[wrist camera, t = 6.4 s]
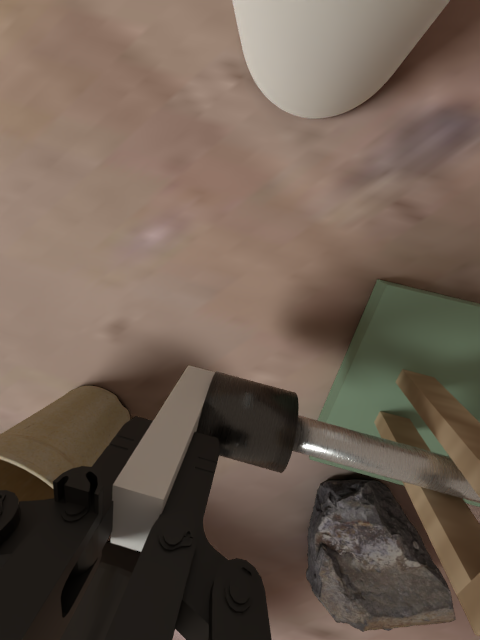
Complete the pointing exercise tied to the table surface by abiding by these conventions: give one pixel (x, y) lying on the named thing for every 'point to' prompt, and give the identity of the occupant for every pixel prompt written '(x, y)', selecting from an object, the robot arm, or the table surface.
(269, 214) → the table surface
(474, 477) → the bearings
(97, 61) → the table surface
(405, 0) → the beverage can
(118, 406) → the flower pot
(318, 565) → the rock
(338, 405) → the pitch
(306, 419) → the rod
